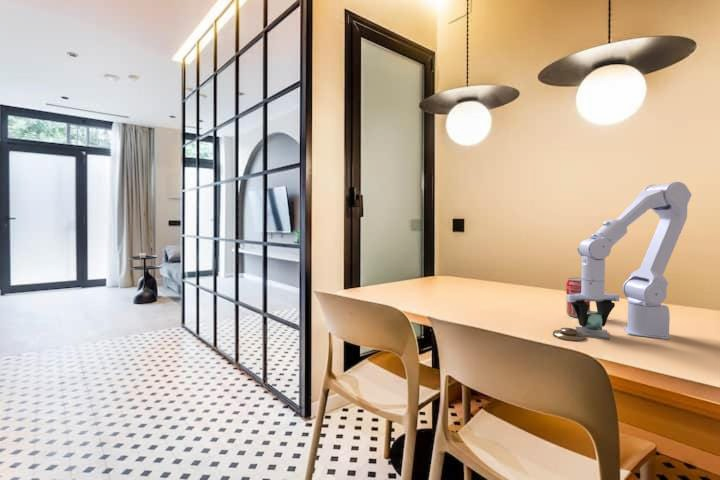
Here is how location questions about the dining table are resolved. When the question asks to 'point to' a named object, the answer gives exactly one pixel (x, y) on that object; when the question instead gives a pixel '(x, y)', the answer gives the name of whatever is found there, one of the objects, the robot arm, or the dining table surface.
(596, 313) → the teal mug
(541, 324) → the dining table surface
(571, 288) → the soda can
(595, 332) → the coaster
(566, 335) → the bronze metal disc
